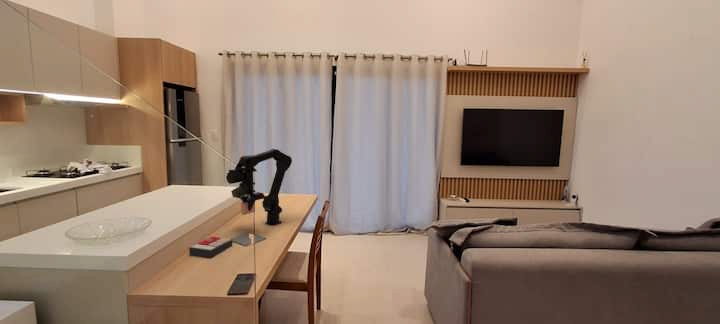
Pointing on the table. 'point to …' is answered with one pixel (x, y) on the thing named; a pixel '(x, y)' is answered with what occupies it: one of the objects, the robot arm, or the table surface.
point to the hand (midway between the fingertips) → (248, 210)
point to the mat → (246, 239)
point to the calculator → (210, 247)
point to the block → (246, 208)
